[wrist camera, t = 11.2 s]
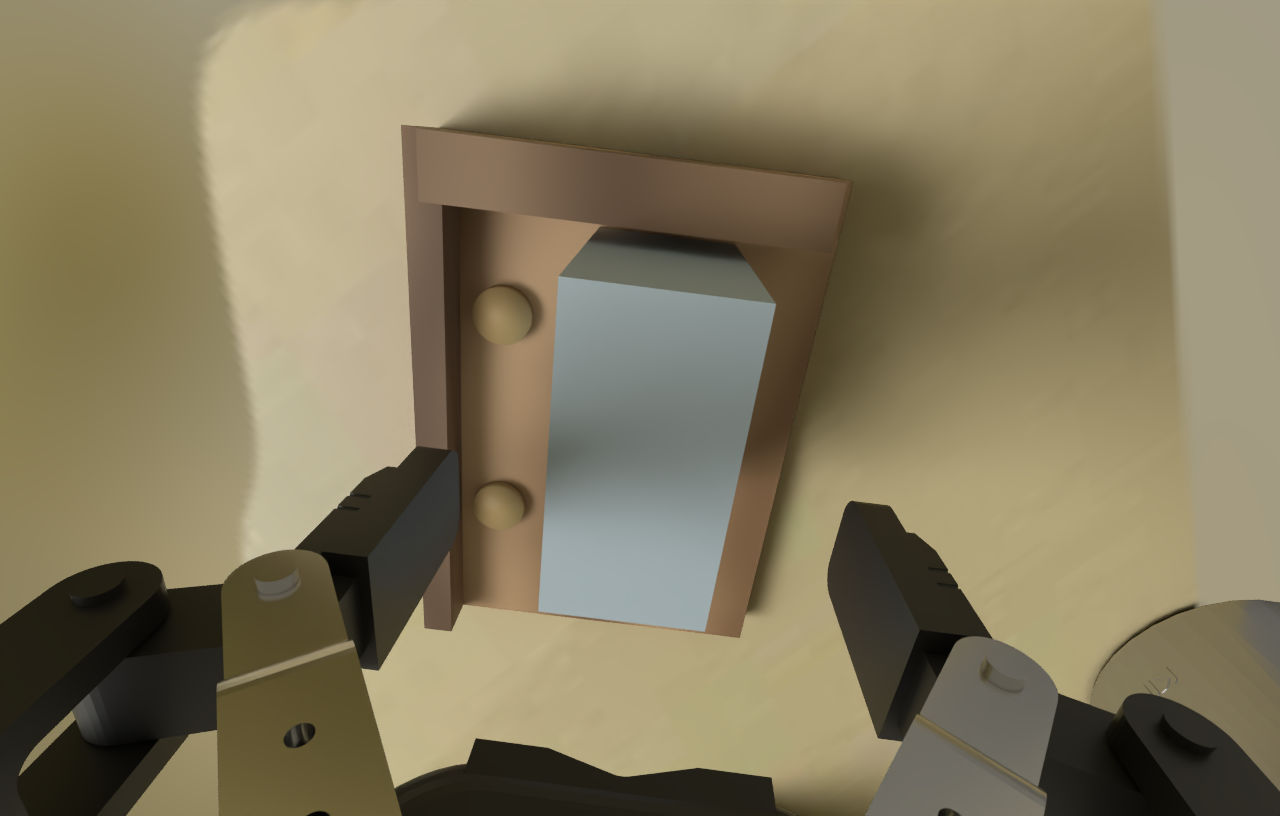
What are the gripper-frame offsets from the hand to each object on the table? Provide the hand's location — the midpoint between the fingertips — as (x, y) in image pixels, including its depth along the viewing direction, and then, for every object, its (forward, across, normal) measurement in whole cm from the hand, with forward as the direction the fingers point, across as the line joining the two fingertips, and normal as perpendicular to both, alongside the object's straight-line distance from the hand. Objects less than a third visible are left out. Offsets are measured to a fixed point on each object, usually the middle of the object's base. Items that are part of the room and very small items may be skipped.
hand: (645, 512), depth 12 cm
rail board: (+9, +2, +2) cm, 9 cm away
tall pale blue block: (+8, 0, -1) cm, 8 cm away
